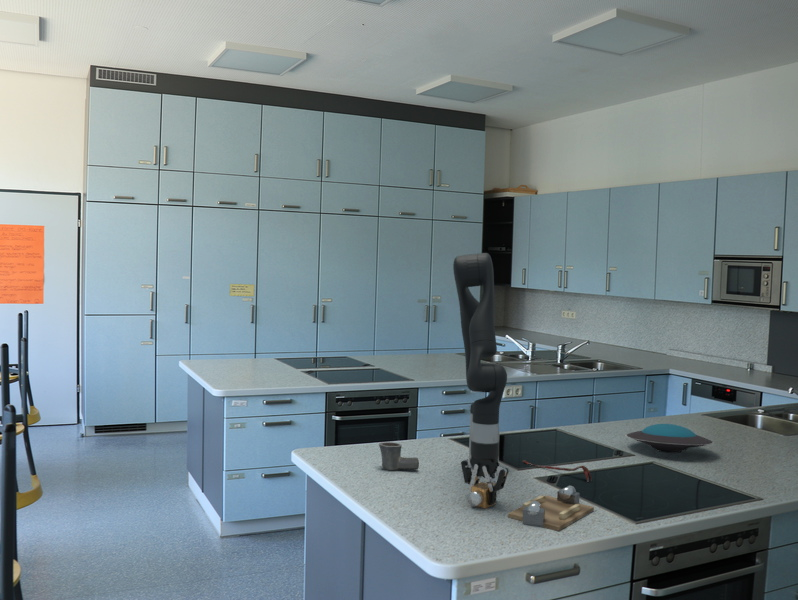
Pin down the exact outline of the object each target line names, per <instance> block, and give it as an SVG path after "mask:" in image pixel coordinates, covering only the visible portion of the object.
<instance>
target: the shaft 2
mask: <svg viewBox="0 0 798 600" xmlns="http://www.w3.org/2000/svg"><path fill="white" fill-rule="evenodd" d="M576 490H577V489H576V488H575V487H574V486H572V485H568V486H566V487H563V488H562V489H559V490H557V493H556V498H557V501H561V502H565V503H569V504H573V505H575V504H577V503H580V498H581V497H580V492H577V491H576Z"/></svg>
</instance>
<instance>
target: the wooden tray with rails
mask: <svg viewBox="0 0 798 600" xmlns="http://www.w3.org/2000/svg"><path fill="white" fill-rule="evenodd" d="M532 501H538V502H539V503H540V504H541V508H542V509H545V520H544V522H543V527H542V528H546V529H550V530H553V531H556V532H557V531H558V532H560V531H561V530H564V529H565V528H567V527H568V526H570V525H572V524H573V523H575V522H577V521H579V520H581V519H582V518H584V517H585V516H587V515H589V514H590V513H592V512H594V510H595V509H594V507H595V506H593V505H592V506H591V505H587V504H582V503H580V502H579V503H577V504H575V505H573V504H569V503H565V502H561V501H557V497H555V496H550V495H546V494H545V495H543V494H542V495H539V496H536V498H533V499H531V500H529V501H527V502H524V503H522V504H523V505H522V506H520V507H518V508H516V509H514V510H512V511H509V512H508V513H507V518H510V519H514V520H517V521H519V522H520V521H521V522H523V509H524V507H525V506H527V507H529V505H530V504H531V502H532Z"/></svg>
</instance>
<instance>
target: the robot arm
mask: <svg viewBox="0 0 798 600" xmlns="http://www.w3.org/2000/svg"><path fill="white" fill-rule="evenodd" d="M452 265H453V267H452V270H453V276H454V282H455V286H456V293H457V297H458V303H459V316H460V326H461V336H462V340H463V348H464V354H465V356H464V357H465V377H466V378H465V379H466V380H465V381H466V385H467V388H468V389H469V390H470V391H471V392H476V393H478V392H479V393H488V395H487V396H485V397H483V398H479V399H476V400H474V402H472V403H471V404H470V407H469V408H470V409H469V412H470V413H469V441H468V442H469V443H468V459H464V460H462V461H460V465H461V470H462V474H463V475H462V476H463V481H464V483H465V484H468V485H469V486H470V488H471V487H472V486H473V485H476V484H478V483H480V481H481V478H483V479H485V483H487V484H488V487H489V497H488V505H492V506H494V505H495V504H496V502H497V497H496V495H497V491H498V490H499V491H500V490H503V489H504V488H505V484H506V480H507V477H508V474H509V468H507V467H506V468H503V467H502V466H500V463H499V462H500V461H499V460H500V406H501V403H502V398H503V395H504V391H505V389H506V386H507V382H508V373H507V370H506V368H505V367H504V366H503V365H501V364H498V363H489V362H488V363H486V362H485V363H484V362H482V361H481V360H483V359H487V358H491V357H494V356H495V355H496V354H497V351H498V347H497V340H496V339H497V338H496V330H495V329H496V328H495V280H494V279H495V274H494V264H493V261H492V257H491V255H490V253H488V252H482V253H481V252H479V253H471V254H462V255H457V256H456V257H454V260H453V264H452ZM481 286H482V288H483V289H482V290H483V291H482V295H481V298H480V301H479V300H477V298H475V296H474V295H473V294H472V292H471V291H470V288H473V287H474V288H475V287H481ZM496 473H497V474H496ZM494 503H495V504H494ZM493 504H494V505H493Z"/></svg>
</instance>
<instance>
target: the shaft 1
mask: <svg viewBox="0 0 798 600" xmlns="http://www.w3.org/2000/svg"><path fill="white" fill-rule="evenodd" d="M544 520H545V509H542V508H541V504H540V503H539V502H538V501H532V502H531V504H530V505H529V507H527V506H525V507H524V509H523V521H522V525H527V526H533V527H541V528H544V527H543V522H544Z"/></svg>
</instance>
